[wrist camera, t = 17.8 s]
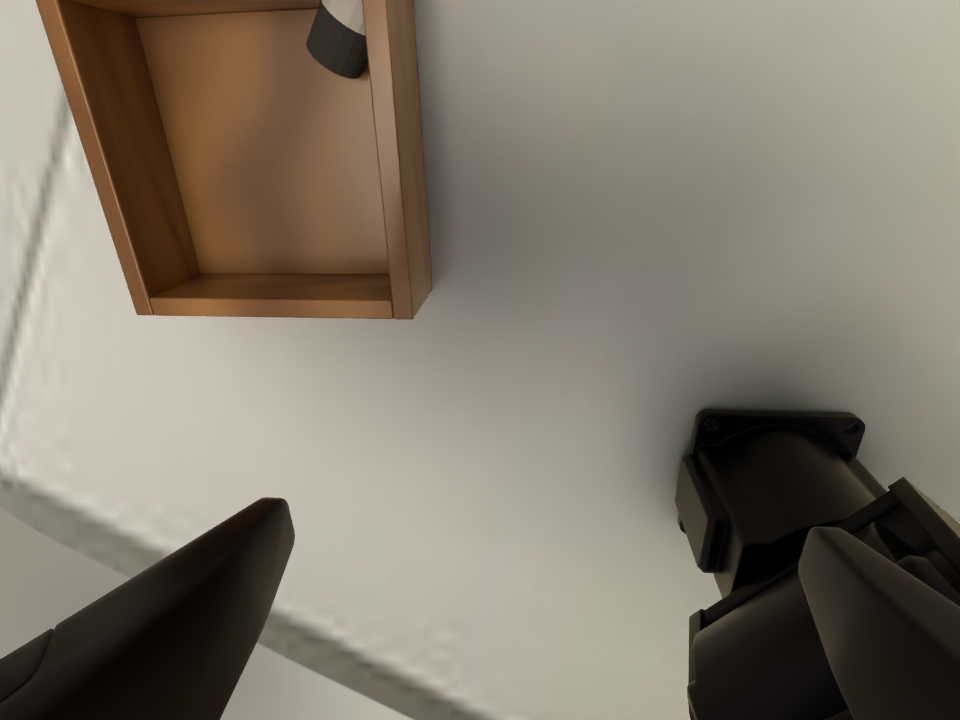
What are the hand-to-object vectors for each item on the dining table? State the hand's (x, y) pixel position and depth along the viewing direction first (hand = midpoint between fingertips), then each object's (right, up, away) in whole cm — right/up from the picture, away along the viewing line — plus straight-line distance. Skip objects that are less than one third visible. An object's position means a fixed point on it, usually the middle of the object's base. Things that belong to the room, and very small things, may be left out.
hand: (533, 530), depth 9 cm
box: (-8, +11, +10) cm, 17 cm away
